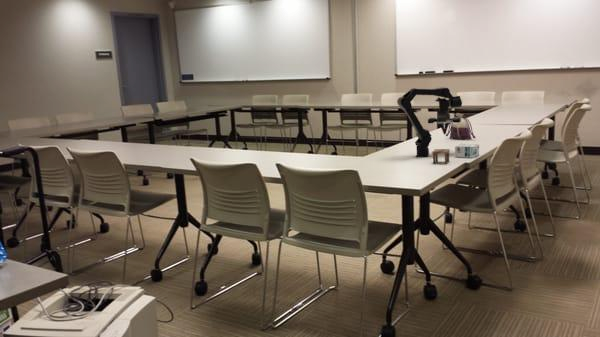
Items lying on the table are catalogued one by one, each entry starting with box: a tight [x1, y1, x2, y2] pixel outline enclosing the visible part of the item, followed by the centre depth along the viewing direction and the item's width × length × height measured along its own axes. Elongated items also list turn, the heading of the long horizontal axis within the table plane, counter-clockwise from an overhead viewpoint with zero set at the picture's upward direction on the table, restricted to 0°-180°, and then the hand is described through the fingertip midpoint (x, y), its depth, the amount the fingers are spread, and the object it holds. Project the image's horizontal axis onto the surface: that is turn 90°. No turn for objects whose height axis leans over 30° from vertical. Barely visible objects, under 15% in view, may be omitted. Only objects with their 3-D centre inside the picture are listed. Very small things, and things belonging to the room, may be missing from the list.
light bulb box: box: [454, 143, 480, 159], centre depth 306 cm, size 11×7×11 cm
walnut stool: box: [431, 148, 450, 165], centre depth 293 cm, size 8×8×7 cm
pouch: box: [445, 112, 476, 140], centre depth 370 cm, size 25×8×19 cm, turn 44°
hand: (444, 134), depth 318 cm, fingers closed
